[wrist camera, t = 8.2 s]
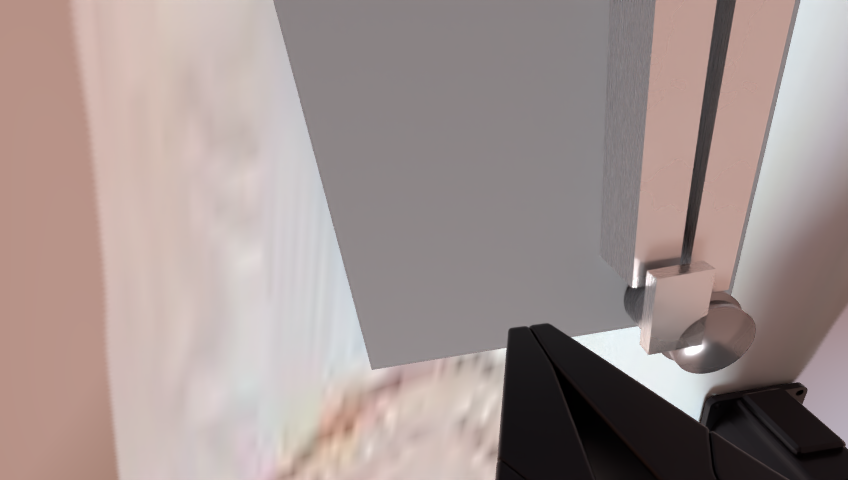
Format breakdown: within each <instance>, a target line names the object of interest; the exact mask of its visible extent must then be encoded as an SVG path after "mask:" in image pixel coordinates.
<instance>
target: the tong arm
mask: <svg viewBox="0 0 848 480" xmlns="http://www.w3.org/2000/svg"><path fill="white" fill-rule="evenodd" d="M716 3H717V0H610V3H609V29H608V55H607V80H606V106H605V132H604V158H603V184H602V210H601V236H600V257H601V258H602V259H603V260H604V261H605V262H606V263H607V264H608V265H609V266H610V267H611V268H612V269H613V270H614V271H615V272H616V273H617V274H618V275H619V276H620V277H621V278H622V279H623V280H624V281H625V282H626V283H627V284H628V285H629V286H630V287H631V288H636V287H642V286H645V295H644V305H643V315H642V325H641V335H640V345H641V347H642V348H643V349H644V350H645V351H646V353H647V354H648V355H650V354H656V353H661V352H668V354H669V355H670V356H671V357H672V358H673V360H674V361H675V362H676V363H677V364H678V365H679V366H680V367H681V368H682V369H684V370H685V371H688V372H691V373H697V374H703V373H710V372H714V371H718V370H720V369H723V368H725V367H727V366H729V365H730V364H732V363H734V362H735V361H736V360H738V359H739V358H740V357H741V356H742V355H743V354H744V353H745V352H746V351H747V350H748V348H749V347H750V345H751V344H752V342H753V340H754V337H755V331H756V328H755V323H754V321H753V319H752V318H751V317H750V316H749V315H748V314H747V313H745V312H744V311H743V310H741V309H740V308H739V307H737V306H736V305H735V304H733V303H731V302H728V301H723V300H713V301H710V298H711V293H712V287H713V282H714V277H715V271H716V268H714V267H713V266H711V265H710V264H708V263H707V262H705V261H704V260H703V261H697V262H692V263H686V264H680V258H681V251H682V244H683V237H684V230H685V223H686V216H687V209H688V201H689V194H690V187H691V180H692V173H693V166H694V159H695V152H696V145H697V138H698V131H699V123H700V116H701V109H702V102H703V95H704V88H705V81H706V74H707V67H708V60H709V53H710V45H711V38H712V31H713V24H714V17H715V10H716Z"/></svg>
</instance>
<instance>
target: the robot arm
mask: <svg viewBox="0 0 848 480" xmlns="http://www.w3.org/2000/svg"><path fill="white" fill-rule="evenodd" d="M806 393H807V388H806V387H805V386H804V385H802V384H801V383H791V384H785V385H779V386H773V387H767V388H761V389H755V390H748V391H742V392H736V393H730V394H724V395H718V396H713V397H711V398H709V399H708V400H707V401H706V403H705V407H704V412H703V416H702V420H701V423H699V422H698V421H696V420H695V419H693V418H692V417H690V416H689V415H687V414H686V413H684V412H683V411H681V410H680V409H678V408H677V407H675V406H674V405H672V404H671V403H669V402H668V401H666V400H665V399H663V398H662V397H660V396H659V395H657V394H656V393H654V392H653V391H651V390H650V389H648V388H647V387H645V386H644V385H642V384H641V383H639V382H637V381H636V380H634V379H633V378H631V377H630V376H628V375H627V374H625V373H624V372H622V371H621V370H619V369H618V368H616V367H615V366H613V365H612V364H610V363H609V362H607V361H606V360H604V359H603V358H601V357H600V356H598V355H597V354H595V353H594V352H592V351H591V350H589V349H588V348H586V347H585V346H583V345H582V344H580V343H578V342H577V341H575V340H574V339H572V338H571V337H569V336H568V335H566V334H565V333H563V332H562V331H560V330H559V329H557V328H556V327H554V326H553V325H551V324H549V323H542V324H535V325H531V326H530V327H527V326H521V327H513V328H510V329H509V330H508V339H507V351H506V363H505V375H504V386H503V398H502V410H501V422H500V434H499V446H498V458H497V460H498V462H497V467H496V479H495V480H848V449H847V448H846V447H845V445H846V444H845V442H844V441H843V440H842V439H841V438H840V437H838V436H837V435H836V434H835V433H834V432H833V431H832V430H831V429H829V428H828V427H827V426H826V425H825V424H823V423H822V422H821V421H820V420H819V419H818V418H817V417H816V416H814V415H813V414H812V413H811V412H810V411H809V410H807V409H806V408H805V407H804V406H803V405H802V404H803V401H804V398H805V396H806Z"/></svg>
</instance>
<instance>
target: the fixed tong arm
mask: <svg viewBox="0 0 848 480" xmlns="http://www.w3.org/2000/svg"><path fill="white" fill-rule="evenodd" d="M794 4H795V0H717V3H716V10H715V17H714V24H713V31H712V38H711V45H710V53H709V60H708V67H707V74H706V81H705V88H704V95H703V102H702V109H701V116H700V123H699V131H698V138H697V145H696V152H695V159H694V166H693V173H692V180H691V187H690V194H689V201H688V209H687V216H686V223H685V230H684V237H683V244H682V251H681V258H680V264H686V263H692V262H697V261H703V260H704V261H705V262H707V263H708V264H710V265H711V266H713V267H714V268H716V271H715V277H714V282H713V287H712V293H711V298H710V301H713V300H723V301H728V302H731V303H733V304H735V305H736V306H737V307H739V308H740V309H741V306H740V304H739V303H738V301H737V300H736V299H734V298H733V297H732V296H730V295H729V294H728V293H726V292H725V291H724V290H729V286H730V281H731V277H732V273H733V268H734V264H735V260H736V255H737V251H738V247H739V242H740V238H741V234H742V229H743V225H744V221H745V216H746V212H747V208H748V203H749V199H750V195H751V190H752V186H753V182H754V177H755V173H756V169H757V164H758V160H759V156H760V151H761V147H762V143H763V138H764V134H765V130H766V125H767V121H768V117H769V112H770V108H771V104H772V99H773V95H774V91H775V86H776V82H777V78H778V73H779V69H780V65H781V60H782V56H783V52H784V47H785V43H786V39H787V34H788V30H789V26H790V21H791V17H792V13H793V8H794ZM644 295H645V286H642V287H636V288H631V287H630V286H628V287H627V289H626V292H625V295H624V308H625V311H626V312H627V314H628V315H629V316H630V318H631V319H632V320H633V321H634V322H635V323H636V324H637V325H638V327H639V328H640V329H641V325H642V315H643V305H644ZM741 310H742V309H741ZM661 353H662V354H663V355H664V356H666V357H667V358H669V359H672V360H673V358H672V357H671V356H670V355H669V354H668V352H661Z"/></svg>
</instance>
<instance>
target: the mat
mask: <svg viewBox="0 0 848 480" xmlns="http://www.w3.org/2000/svg"><path fill="white" fill-rule="evenodd" d="M273 1H274V4H275V8H276V12H277V16H278V19H279V23H280V27H281V31H282V34H283V38H284V42H285V46H286V49H287V53H288V57H289V61H290V64H291V68H292V72H293V76H294V79H295V83H296V87H297V91H298V94H299V98H300V102H301V106H302V109H303V113H304V117H305V121H306V124H307V128H308V132H309V136H310V139H311V143H312V147H313V151H314V154H315V158H316V162H317V166H318V169H319V173H320V177H321V181H322V184H323V188H324V192H325V196H326V199H327V203H328V207H329V211H330V214H331V218H332V222H333V226H334V229H335V233H336V237H337V241H338V244H339V248H340V252H341V256H342V259H343V263H344V267H345V271H346V274H347V278H348V282H349V286H350V289H351V293H352V297H353V301H354V304H355V308H356V312H357V316H358V319H359V323H360V327H361V331H362V334H363V338H364V342H365V346H366V349H367V353H368V357H369V361H370V364H371V368H372V370H374V369H380V368H386V367H392V366H398V365H404V364H410V363H416V362H422V361H428V360H435V359H441V358H447V357H453V356H459V355H465V354H471V353H477V352H483V351H489V350H495V349H501V348H507V339H508V330H509V329H510V328H513V327H521V326H527V327H530V326H531V325H535V324H542V323H549V324H551V325H553V326H554V327H556V328H557V329H559V330H560V331H562V332H563V333H565V334H566V335H568V336H569V337H574V336H581V335H587V334H593V333H599V332H605V331H611V330H617V329H623V328H629V327H635V326H638V325H637V324H636V323H635V322H634V321H633V320H632V319H631V318H630V316H629V315H628V314H627V312H626V311H625V308H624V295H625V292H626V289H627V287H628V286H629V285H628V284H627V283H626V282H625V281H624V280H623V279H622V278H621V277H620V276H619V275H618V274H617V273H616V272H615V271H614V270H613V269H612V268H611V267H610V266H609V265H608V264H607V263H606V262H605V261H604V260H603V259H602V258H601V257H600V236H601V210H602V184H603V158H604V132H605V106H606V80H607V55H608V29H609V3H610V0H273ZM799 4H800V0H795V4H794V8H793V13H792V17H791V21H790V26H789V30H788V34H787V39H786V43H785V47H784V52H783V56H782V60H781V65H780V69H779V73H778V78H777V82H776V86H775V91H774V95H773V99H772V104H771V108H770V112H769V117H768V121H767V125H766V130H765V134H764V138H763V143H762V147H761V151H760V156H759V160H758V164H757V169H756V173H755V177H754V182H753V186H752V190H751V195H750V199H749V203H748V208H747V212H746V216H745V221H744V225H743V229H742V234H741V238H740V242H739V247H738V251H737V255H736V260H735V264H734V268H733V273H732V277H731V281H730V286H729V290H724V291H725V292H726V293H728V294H729V295H730V296H731V293H732V289H733V284H734V280H735V276H736V272H737V267H738V263H739V259H740V255H741V250H742V246H743V242H744V238H745V233H746V229H747V225H748V221H749V216H750V212H751V208H752V204H753V199H754V195H755V191H756V187H757V182H758V178H759V174H760V170H761V165H762V161H763V157H764V153H765V148H766V144H767V140H768V136H769V131H770V127H771V123H772V119H773V114H774V110H775V106H776V102H777V97H778V93H779V89H780V85H781V80H782V76H783V72H784V68H785V63H786V59H787V55H788V51H789V46H790V42H791V38H792V34H793V29H794V25H795V21H796V17H797V12H798V8H799Z"/></svg>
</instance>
